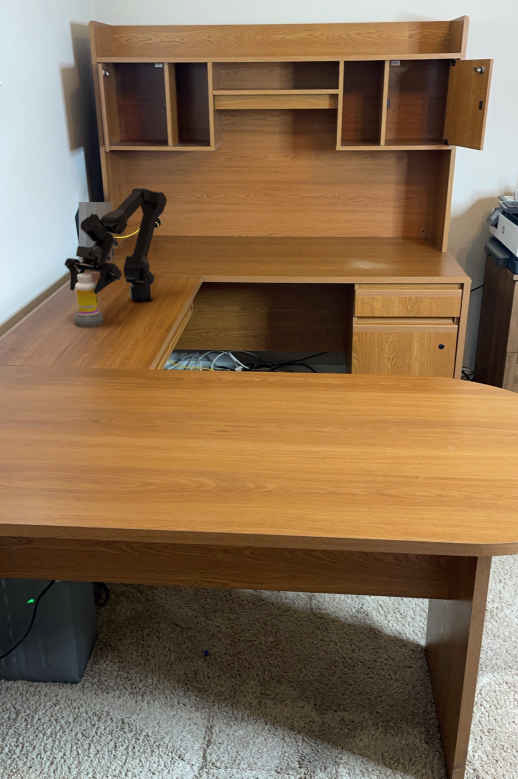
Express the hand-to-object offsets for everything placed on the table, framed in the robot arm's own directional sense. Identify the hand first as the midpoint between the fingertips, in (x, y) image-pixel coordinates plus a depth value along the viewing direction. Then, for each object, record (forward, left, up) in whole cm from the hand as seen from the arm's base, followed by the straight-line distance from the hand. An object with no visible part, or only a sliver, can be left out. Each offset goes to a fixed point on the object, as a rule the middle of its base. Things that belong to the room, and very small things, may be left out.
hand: (83, 291), depth 223 cm
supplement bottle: (-1, -1, -8) cm, 8 cm away
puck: (-1, -1, -11) cm, 11 cm away
